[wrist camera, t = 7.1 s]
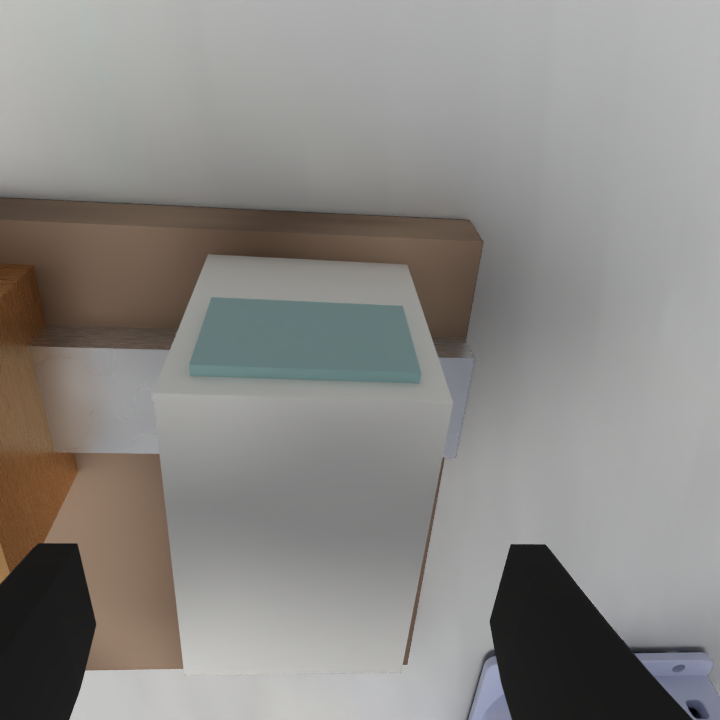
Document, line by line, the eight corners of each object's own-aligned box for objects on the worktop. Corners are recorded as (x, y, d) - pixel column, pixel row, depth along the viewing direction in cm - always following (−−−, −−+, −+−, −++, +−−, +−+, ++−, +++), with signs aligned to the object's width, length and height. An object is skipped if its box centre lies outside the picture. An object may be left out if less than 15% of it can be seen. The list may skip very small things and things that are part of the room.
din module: (408, 256, 14) (455, 391, 9) (378, 491, 18) (401, 673, 13) (207, 245, 14) (151, 381, 9) (219, 489, 17) (184, 675, 13)
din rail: (476, 282, 14) (526, 372, 11) (441, 475, 18) (472, 593, 14) (-63, 260, 13) (-191, 354, 10) (1, 471, 17) (-81, 597, 13)
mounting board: (469, 220, 15) (483, 241, 14) (402, 627, 23) (407, 664, 22) (-41, 195, 14) (-76, 216, 13) (76, 631, 22) (61, 670, 21)
